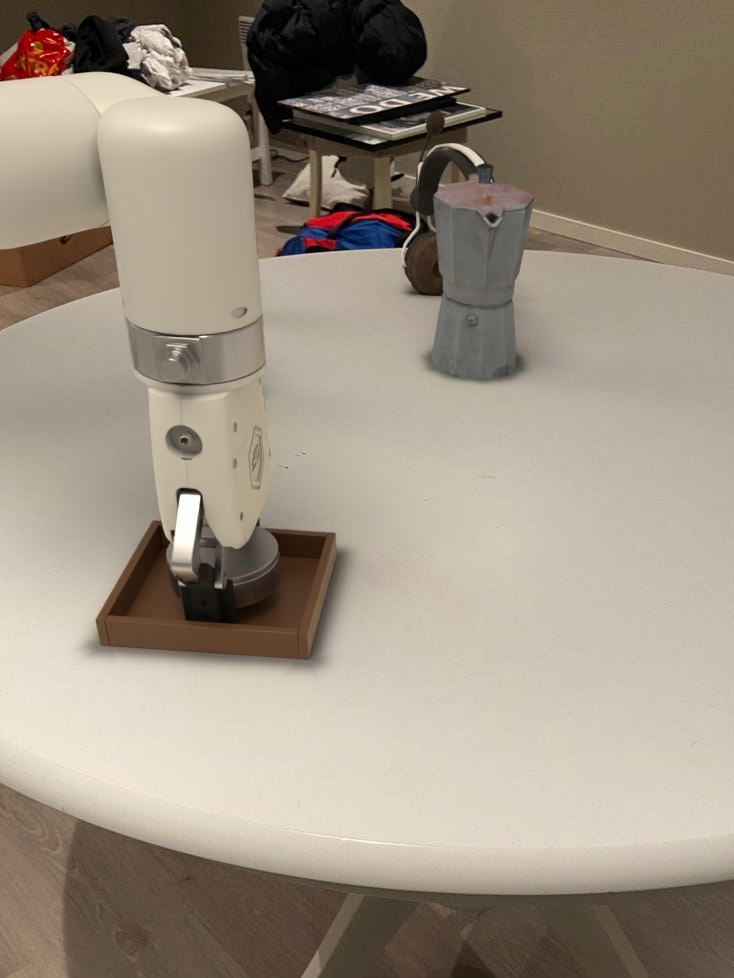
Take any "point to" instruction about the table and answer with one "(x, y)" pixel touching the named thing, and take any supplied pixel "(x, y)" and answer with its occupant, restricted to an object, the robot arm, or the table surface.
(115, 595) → the tray
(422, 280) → the headset
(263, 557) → the lid
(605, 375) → the table surface
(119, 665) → the table surface
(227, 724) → the table surface
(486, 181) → the moka pot
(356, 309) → the table surface
